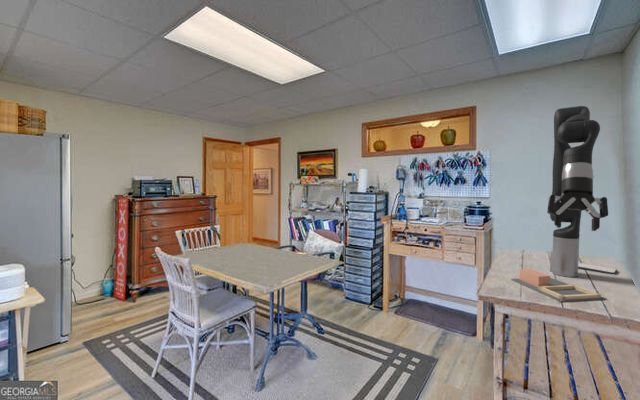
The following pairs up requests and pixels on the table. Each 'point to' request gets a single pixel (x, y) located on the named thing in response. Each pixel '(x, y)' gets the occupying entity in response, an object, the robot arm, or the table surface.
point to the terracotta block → (534, 277)
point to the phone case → (596, 268)
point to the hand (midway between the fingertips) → (576, 228)
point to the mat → (563, 291)
